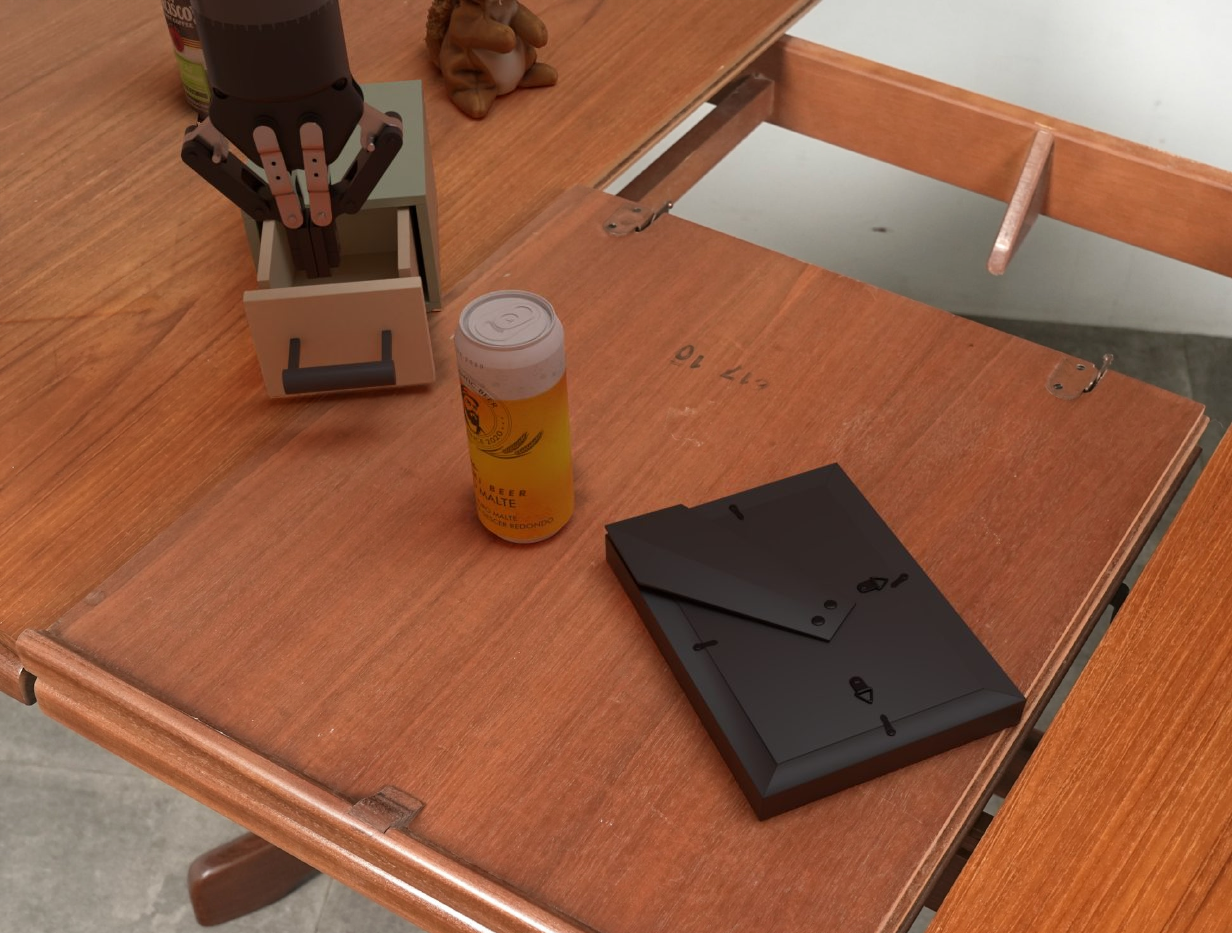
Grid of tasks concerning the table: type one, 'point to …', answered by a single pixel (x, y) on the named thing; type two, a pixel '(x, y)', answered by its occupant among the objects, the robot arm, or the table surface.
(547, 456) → the beer can
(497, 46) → the stuffed squirrel
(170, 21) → the coffee can
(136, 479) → the table surface
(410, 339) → the drawer
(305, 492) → the table surface
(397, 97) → the cabinet
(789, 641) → the picture frame
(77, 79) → the table surface
